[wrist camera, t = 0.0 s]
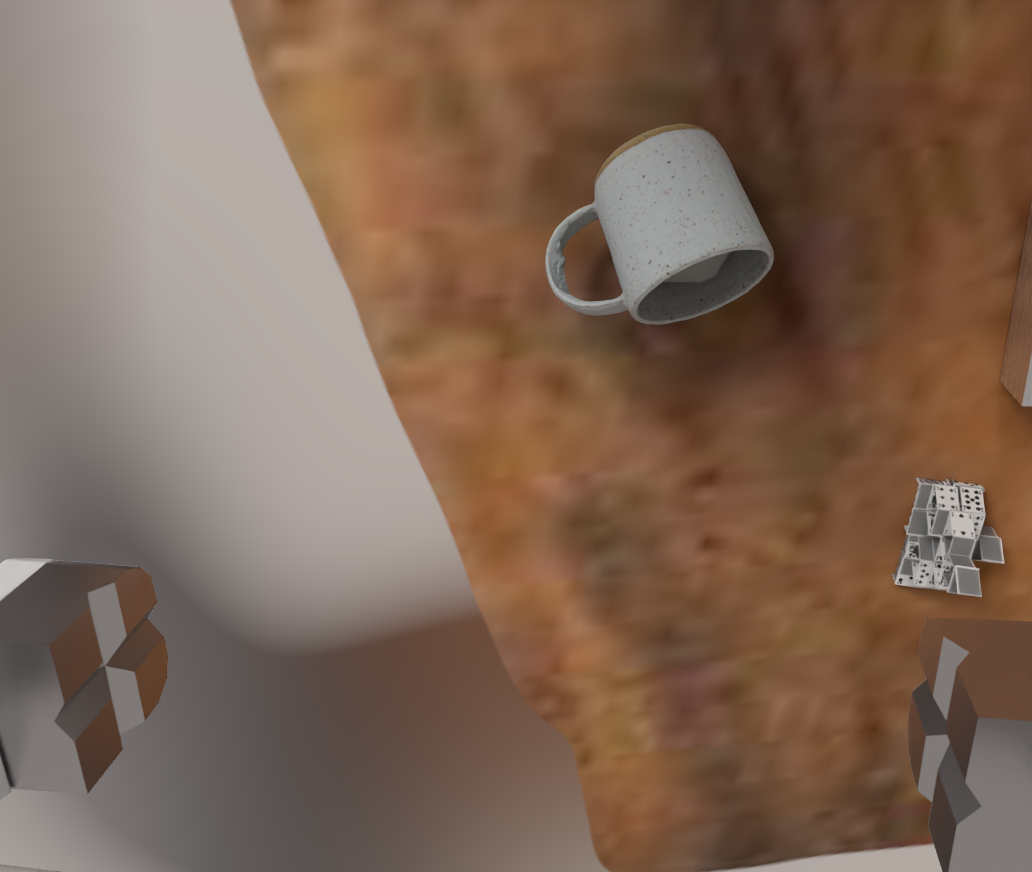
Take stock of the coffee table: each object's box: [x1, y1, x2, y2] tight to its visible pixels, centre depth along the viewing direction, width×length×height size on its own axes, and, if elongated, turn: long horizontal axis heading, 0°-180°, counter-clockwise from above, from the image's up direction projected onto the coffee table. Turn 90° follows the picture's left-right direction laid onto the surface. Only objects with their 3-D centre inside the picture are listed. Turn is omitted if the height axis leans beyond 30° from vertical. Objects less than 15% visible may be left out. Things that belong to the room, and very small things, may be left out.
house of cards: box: [892, 478, 1004, 597], centre depth 56 cm, size 9×9×8 cm
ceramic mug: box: [545, 124, 774, 325], centre depth 50 cm, size 11×8×8 cm
